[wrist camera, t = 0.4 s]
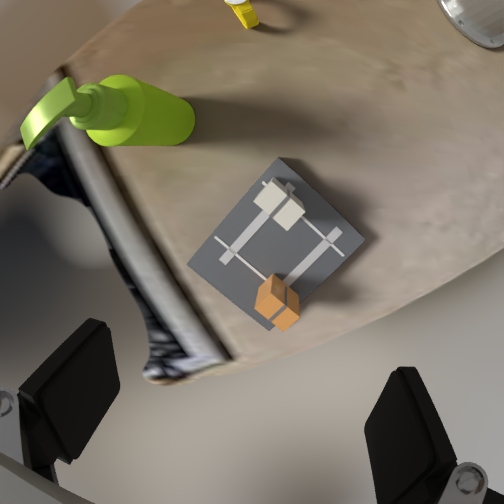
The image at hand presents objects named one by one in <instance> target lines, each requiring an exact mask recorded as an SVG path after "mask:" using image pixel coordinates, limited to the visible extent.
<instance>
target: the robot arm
mask: <svg viewBox="0 0 504 504" xmlns="http://www.w3.org/2000/svg"><path fill="white" fill-rule="evenodd" d="M438 2H439V4H440V6H441V8H442V10H443V11H444V13H445V15H446V16H447V17H448V19H449V20H450V21H451V23H452V24H453V25H454V26H455V27H456V28H457V29H458V30H459V31H460V32H461V33H462V34H463V35H464V36H466V37H467V38H468V39H470V40H471V41H473V42H474V43H476V44H478V45H480V46H482V47H485V48H497V47H500V46H502V45H503V44H504V0H438ZM119 390H120V381H119V376H118V372H117V366H116V361H115V355H114V350H113V343H112V337H111V331H110V328H108V327H107V325H106V323H105V322H103V321H99V320H96V319H93V318H89V319H87V320H86V321H85V322H84V323H83V324H82V325H81V326H80V327H79V328H78V329H77V330H76V331H75V332H74V333H73V334H72V335H71V336H69V338H68V339H66V340H65V341H64V342H63V343H62V344H61V345H60V346H59V347H58V348H57V349H56V350H55V351H54V352H53V353H52V354H51V355H50V356H49V357H48V358H47V359H46V360H45V361H44V362H43V363H42V364H41V365H40V366H39V368H38V369H37V370H36V371H35V372H34V373H33V374H32V375H31V376H30V377H29V378H28V379H27V380H26V381H25V382H24V383H23V384H22V385H21V386H20V387H19V393H18V394H17V395H16V394H15V392H14V391H12V390H11V389H8V388H4V387H0V504H95V503H92V502H90V501H88V500H86V499H84V498H82V497H79V496H78V495H76V494H74V493H72V492H70V491H68V490H66V489H64V488H62V487H60V486H59V483H58V479H57V475H56V471H55V467H54V462H55V461H56V459H57V458H58V459H60V460H61V461H63V462H65V463H67V464H69V465H70V464H71V462H72V461H73V459H77V458H78V457H79V456H80V455H81V453H82V451H83V450H84V448H85V446H86V445H87V443H88V441H89V440H90V438H91V436H92V435H93V433H94V431H95V430H96V428H97V426H98V425H99V423H100V422H101V420H102V418H103V417H104V415H105V414H106V412H107V411H108V409H109V407H110V406H111V404H112V403H113V401H114V399H115V398H116V396H117V395H118V393H119ZM364 433H365V437H366V443H367V447H368V453H369V458H370V463H371V469H372V474H373V480H374V486H375V492H376V499H377V504H504V495H502V494H500V493H498V492H496V491H493V490H492V489H489V488H488V487H487V486H488V478H487V475H486V472H485V471H484V470H483V469H482V467H481V466H479V465H477V464H475V463H472V462H464V463H461V464H459V465H457V462H456V460H457V458H456V455H455V452H454V450H453V447H452V445H451V443H450V440H449V438H448V435H447V433H446V431H445V429H444V426H443V424H442V421H441V419H440V417H439V415H438V412H437V410H436V408H435V406H434V404H433V402H432V399H431V397H430V395H429V393H428V391H427V389H426V387H425V385H424V383H423V381H422V379H421V377H420V375H419V373H418V371H417V369H416V368H415V367H398V368H397V369H396V371H393V372H392V373H391V374H390V377H389V379H388V381H387V383H386V385H385V387H384V389H383V391H382V393H381V395H380V397H379V399H378V401H377V403H376V405H375V406H374V408H373V410H372V412H371V414H370V416H369V417H368V419H367V421H366V423H365V427H364Z"/></svg>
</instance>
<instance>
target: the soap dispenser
mask: <svg viewBox="0 0 504 504" xmlns="http://www.w3.org/2000/svg"><path fill="white" fill-rule="evenodd" d="M62 116H65V117H69V118H70V121H71V123H72V124H73V125H74V126H75V127H76V128H78V129H81V130H86V131H87V133H88V135H89V136H90V138H91V139H92V140H93V141H95V142H96V143H98V144H100V145H103V146H173V145H177V144H180V143H182V142H183V141H185V140H186V139H187V138H188V137H189V136H190V134H191V133H192V131H193V128H194V125H195V114H194V111H193V108H192V107H191V105H190V104H189V103H188V102H187V101H185V100H183V99H181V98H179V97H177V96H175V95H172V94H170V93H168V92H166V91H163V90H161V89H159V88H156V87H154V86H152V85H149V84H147V83H145V82H142V81H140V80H137V79H135V78H132V77H130V76H127V75H113V76H110V77H108V78H106V79H104V80H103V81H101V82H100V83H99V84H97V83H87V84H85V85H83V86H81V87H80V88H79V89H78V90H76V87H75V84H74V82H73V79H72V78H70V77H66V78H65V79H63V80H62V81H61V82H60V83H59V84H58V85H56V86H55V87H54V88H53V89H52V90H51V91H50V92H49V93H48V94H46V95H45V96H44V97H43V98H42V99H41V100H40V101H39V102H38V104H37V105H36V106H35V107H34V108H33V109H32V111H31V112H30V113H29V114H28V116H27V117H26V119H25V121H24V122H23V124H22V126H21V128H20V131H21V134H22V137H23V141H24V144H25V147H26V149H27V150H29V149H31V148H33V147H34V146H35V145H36V143H37V142H38V140H39V139H40V138H41V137H42V136H43V134H44V133H45V132H46V131H47V130H48V129H49V128H50V127H51V126H52V125H54V124H55V123H56V122H57V121H58V120H59V119H60V118H61V117H62Z"/></svg>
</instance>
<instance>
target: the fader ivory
mask: <svg viewBox="0 0 504 504" xmlns="http://www.w3.org/2000/svg"><path fill="white" fill-rule="evenodd" d="M253 202H255V203H256V204H257V205H258V206H259V207H260V208H261V209H263V210H264V211H265V212H266V213H267V214H268V215H269V217H271V218H273V219H274V220H275V221H276V222H277V223H279V224H280V225H281V226H282V227H283V228H284V229H285V230H286V231H288V230H289V229H290V228H291V227H292V225H293V224H294V223H295V222H296V221H297V220H298V219H299V218H300V217H301V216H302V215H303V214H304V213H305V209H304V206H303V203H302V202H301V201H300V200H299V199H298V198H297V197H296V196H295V195H294V194H293V193H291V192H290V191H289V190H288V189H287V188H286V187H285V186H284V185H282V184H281V183H280V182H279V181H278V180H277V179H276V178H274V177H273V178H272V179H271V180H270V181H269V183H268V184H267V185H266V186H265V187H264V188H263V189H262V190H261V192H260V193H259V194H258V195H257V197H256V198H255V200H254V201H253Z"/></svg>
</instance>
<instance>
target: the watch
mask: <svg viewBox="0 0 504 504" xmlns="http://www.w3.org/2000/svg"><path fill="white" fill-rule="evenodd" d="M224 1H225V2H226V3H227V4H228V5H230V6H231V7H232V9H233V10H234V12H235V13H236V15H237V16H238V18H239V19H240V21H241V22H242V24H243V26H245V28H246V29H250V28H252V27H254V26H256V25H258V24H259V21H258V18H257V15H256V13H255V11H254V9H253V8H252V6H251V4H250V2H249V0H224Z"/></svg>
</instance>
